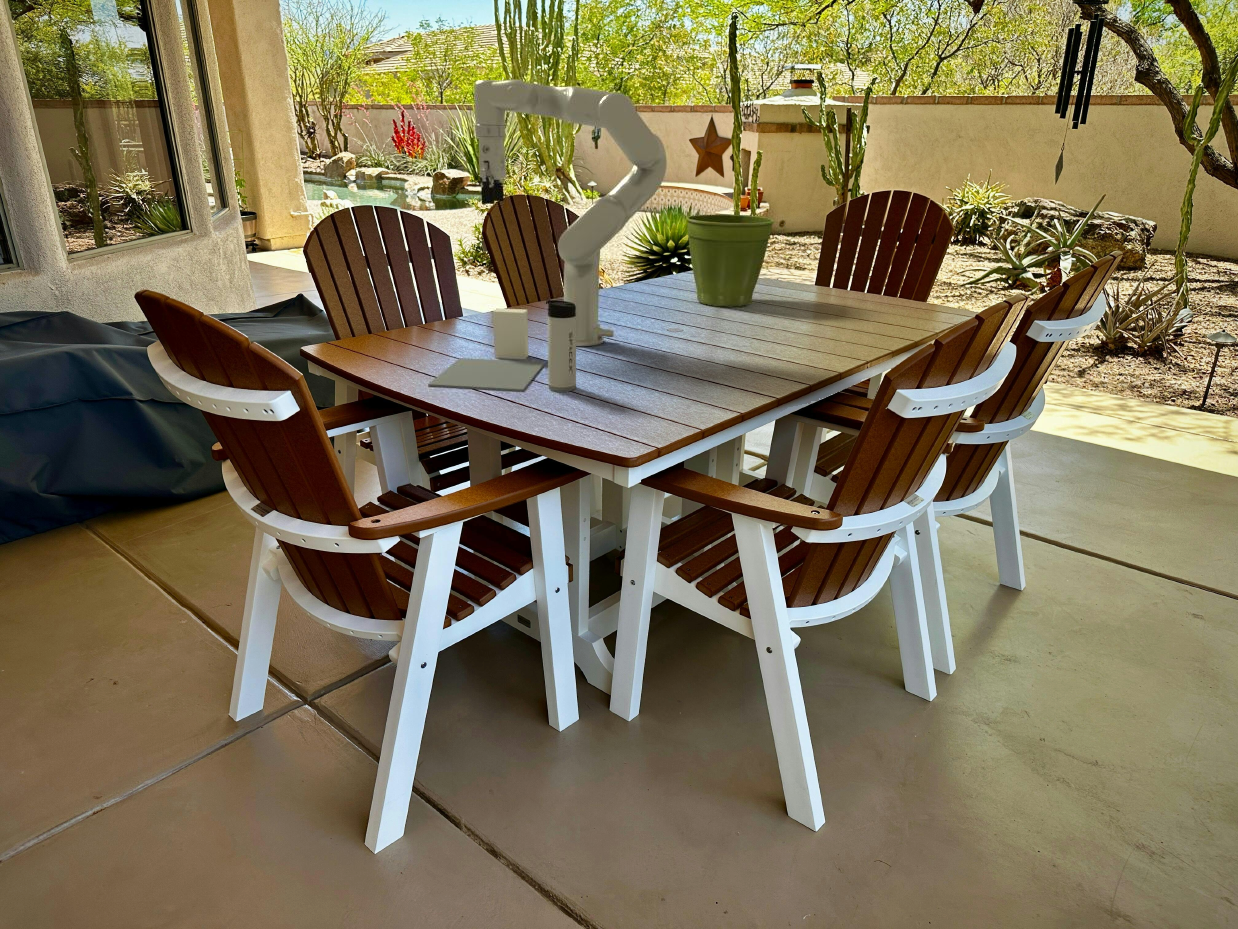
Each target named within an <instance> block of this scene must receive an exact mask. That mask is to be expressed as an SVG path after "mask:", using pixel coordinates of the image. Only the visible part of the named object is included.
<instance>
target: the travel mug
mask: <svg viewBox="0 0 1238 929" xmlns="http://www.w3.org/2000/svg"><path fill="white" fill-rule="evenodd" d="M545 304H546V305H548V306H547V356H548V357H547V360H548V362H547V366H548V370H547V371H548V373H547V374H548V376H547V377H548V379H547V380H548V389H549V390H550V391H553V392H557V393H568V392H572V391H574V390H576V388H577V346H576V306H575V304H574V303H571V302H567V301H564V300H560V299H558V300H557V299H556V300H555V299H546V301H545Z"/></svg>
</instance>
